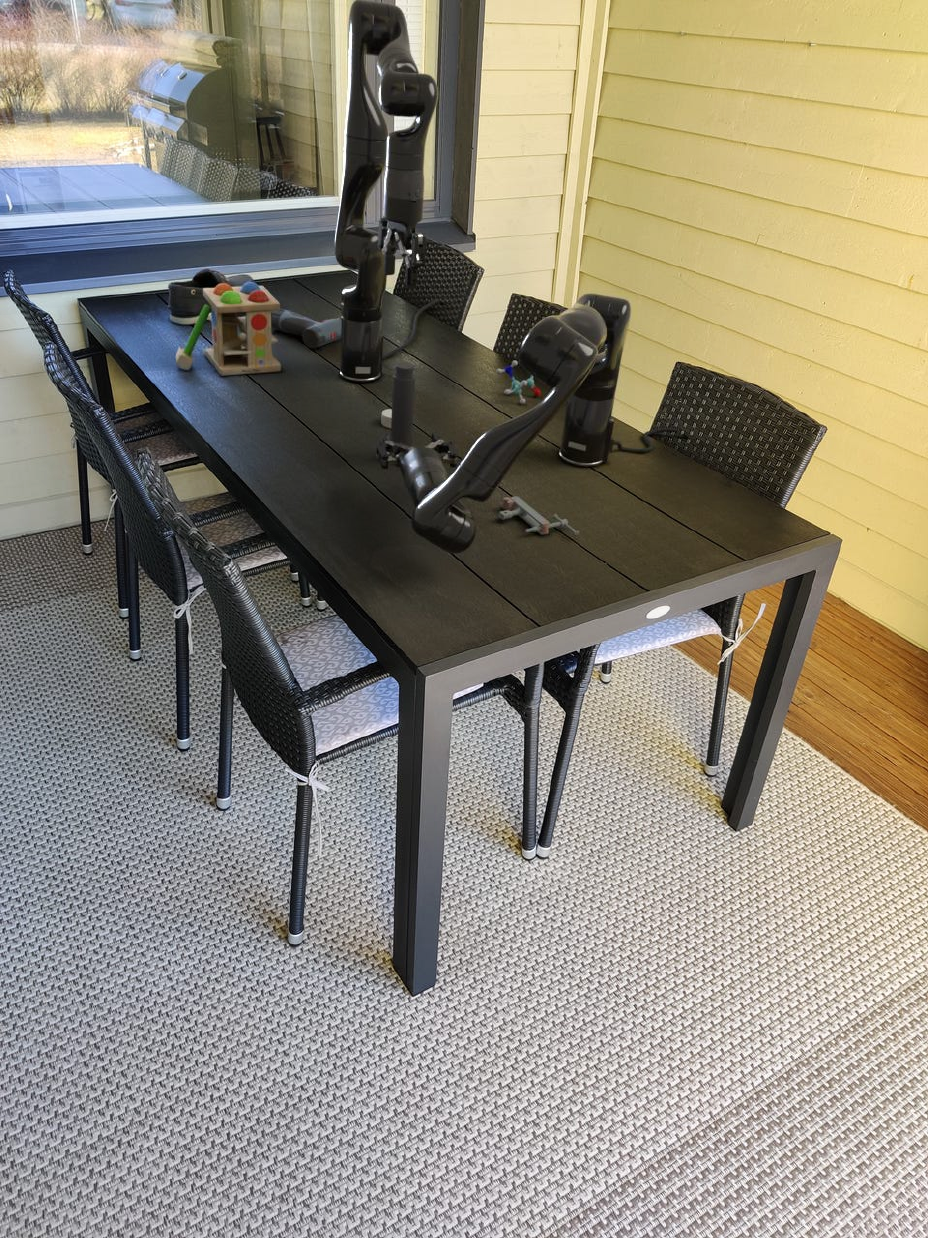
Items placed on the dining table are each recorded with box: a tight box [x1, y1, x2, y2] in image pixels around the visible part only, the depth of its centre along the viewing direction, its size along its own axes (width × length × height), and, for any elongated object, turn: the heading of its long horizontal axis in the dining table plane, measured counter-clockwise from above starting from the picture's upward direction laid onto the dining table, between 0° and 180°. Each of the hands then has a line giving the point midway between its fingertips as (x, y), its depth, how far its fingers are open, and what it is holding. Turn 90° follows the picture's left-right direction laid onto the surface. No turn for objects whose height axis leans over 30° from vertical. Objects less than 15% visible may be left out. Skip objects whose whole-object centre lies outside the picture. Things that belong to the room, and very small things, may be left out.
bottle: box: [390, 361, 416, 452], centre depth 190 cm, size 4×4×20 cm
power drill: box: [271, 308, 341, 349], centre depth 252 cm, size 5×19×20 cm
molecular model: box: [496, 360, 542, 405], centre depth 227 cm, size 12×10×10 cm
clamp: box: [498, 496, 580, 537], centre depth 177 cm, size 15×2×10 cm
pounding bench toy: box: [174, 282, 282, 377], centre depth 225 cm, size 23×14×18 cm, turn 116°
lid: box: [380, 408, 392, 429], centre depth 210 cm, size 5×5×2 cm
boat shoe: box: [167, 268, 256, 325], centre depth 261 cm, size 13×33×10 cm, turn 147°
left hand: (399, 280), depth 194 cm, fingers open, 8 cm apart
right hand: (410, 437), depth 182 cm, fingers open, 8 cm apart
